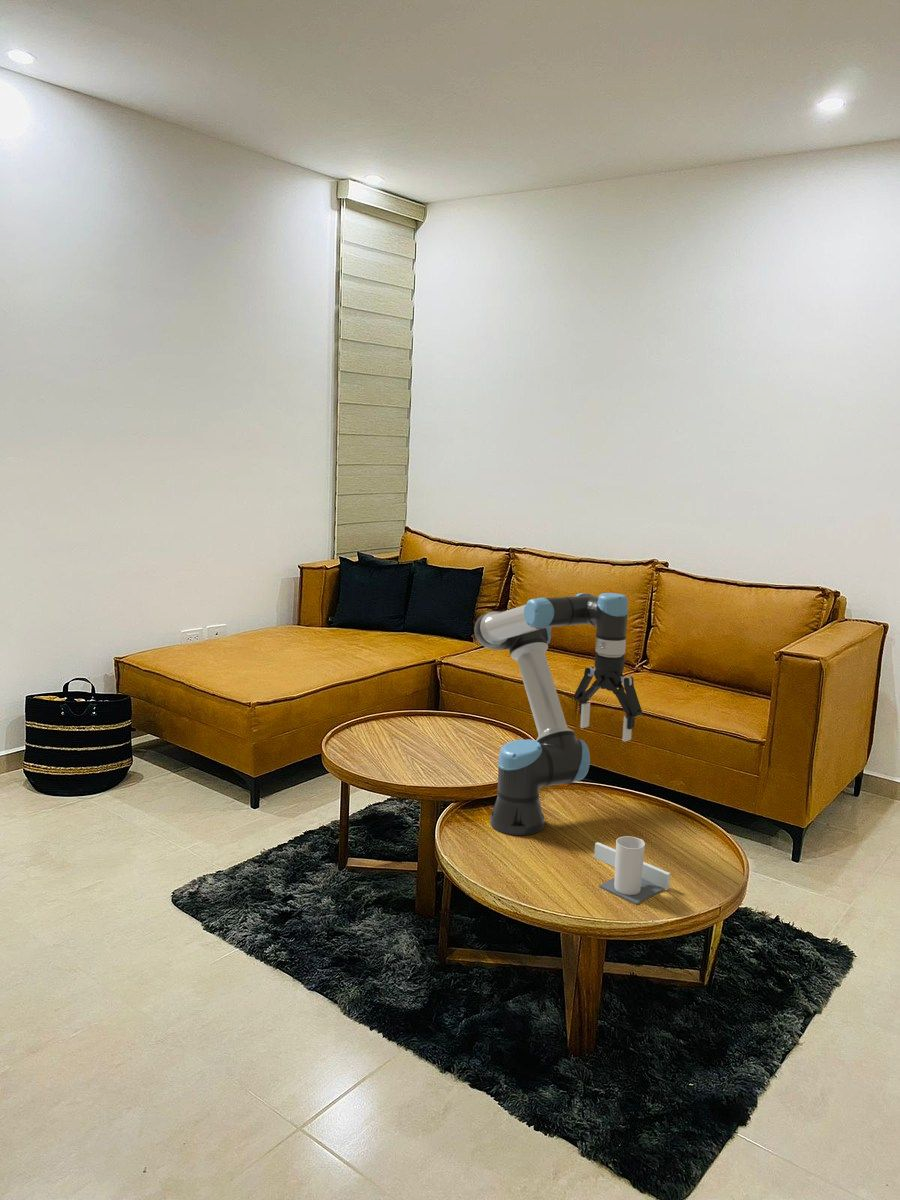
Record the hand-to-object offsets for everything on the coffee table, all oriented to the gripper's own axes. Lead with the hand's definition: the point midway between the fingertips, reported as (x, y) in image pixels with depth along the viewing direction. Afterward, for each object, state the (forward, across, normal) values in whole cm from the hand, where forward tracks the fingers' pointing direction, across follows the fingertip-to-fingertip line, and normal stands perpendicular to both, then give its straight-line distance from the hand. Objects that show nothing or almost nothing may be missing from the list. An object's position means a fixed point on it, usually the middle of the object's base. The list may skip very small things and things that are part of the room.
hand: (605, 733), depth 232 cm
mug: (+31, +19, -12) cm, 38 cm away
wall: (+32, +14, -5) cm, 35 cm away
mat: (+32, +19, -12) cm, 39 cm away
